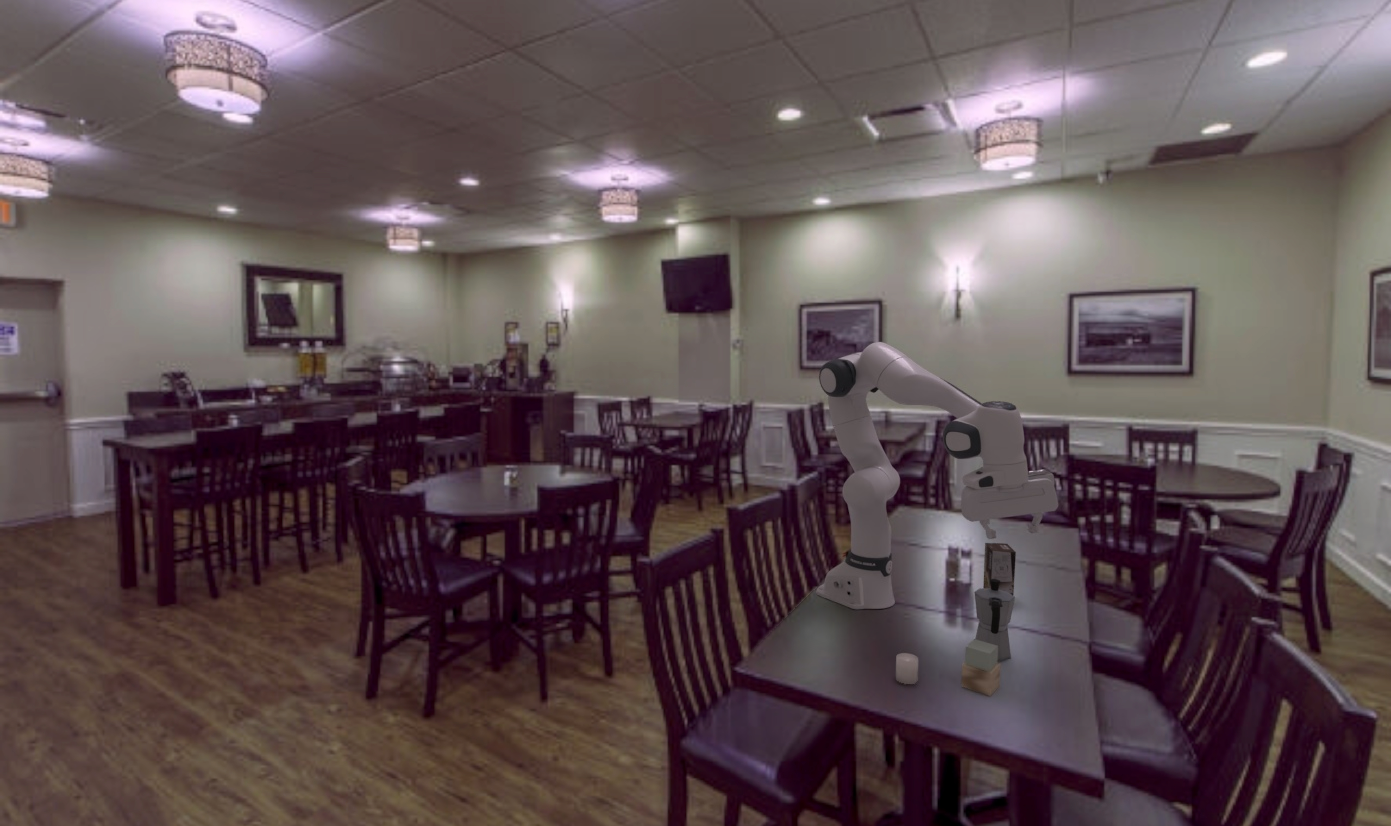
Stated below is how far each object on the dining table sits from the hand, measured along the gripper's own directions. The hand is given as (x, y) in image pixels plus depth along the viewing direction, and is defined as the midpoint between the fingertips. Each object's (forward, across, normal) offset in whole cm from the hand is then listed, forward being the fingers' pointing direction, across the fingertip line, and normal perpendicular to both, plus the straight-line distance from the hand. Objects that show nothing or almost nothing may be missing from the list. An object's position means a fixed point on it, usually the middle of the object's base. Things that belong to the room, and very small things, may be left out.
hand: (1012, 535), depth 147 cm
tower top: (+25, +12, +6) cm, 29 cm away
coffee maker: (+31, +4, -8) cm, 32 cm away
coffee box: (+32, -12, -42) cm, 54 cm away
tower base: (+30, +13, +6) cm, 33 cm away
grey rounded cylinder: (+28, +28, +4) cm, 40 cm away
